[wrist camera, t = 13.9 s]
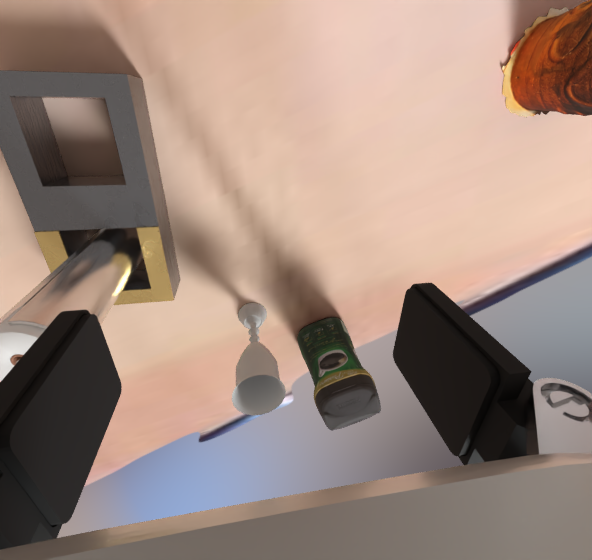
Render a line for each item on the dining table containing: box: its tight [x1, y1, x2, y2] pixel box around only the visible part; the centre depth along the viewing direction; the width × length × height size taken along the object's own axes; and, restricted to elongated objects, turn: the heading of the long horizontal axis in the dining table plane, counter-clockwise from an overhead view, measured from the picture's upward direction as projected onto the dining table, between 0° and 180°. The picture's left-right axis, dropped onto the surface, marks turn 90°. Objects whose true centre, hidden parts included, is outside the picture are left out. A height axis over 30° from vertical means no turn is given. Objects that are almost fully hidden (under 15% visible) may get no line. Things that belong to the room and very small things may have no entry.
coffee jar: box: [297, 317, 381, 430], centre depth 52 cm, size 10×8×19 cm
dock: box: [0, 70, 180, 305], centre depth 40 cm, size 27×14×6 cm, turn 179°
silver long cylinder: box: [0, 227, 143, 381], centre depth 35 cm, size 6×6×25 cm
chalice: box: [232, 303, 286, 415], centre depth 48 cm, size 7×7×18 cm
